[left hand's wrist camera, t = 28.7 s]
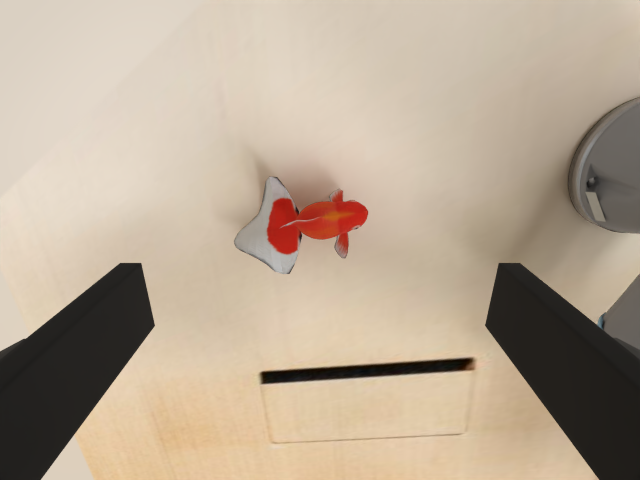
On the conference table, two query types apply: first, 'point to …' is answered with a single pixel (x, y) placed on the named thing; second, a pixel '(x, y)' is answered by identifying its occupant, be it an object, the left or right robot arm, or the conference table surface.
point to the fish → (296, 226)
